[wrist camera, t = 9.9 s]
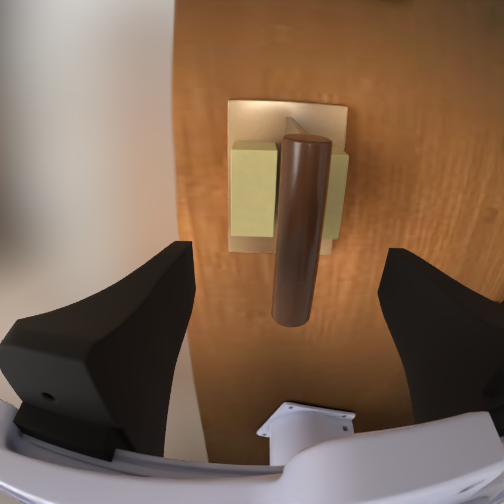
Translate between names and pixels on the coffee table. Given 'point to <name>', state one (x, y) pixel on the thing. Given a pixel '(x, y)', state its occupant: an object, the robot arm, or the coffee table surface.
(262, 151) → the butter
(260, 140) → the board
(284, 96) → the coffee table surface
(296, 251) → the scraper
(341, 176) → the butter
